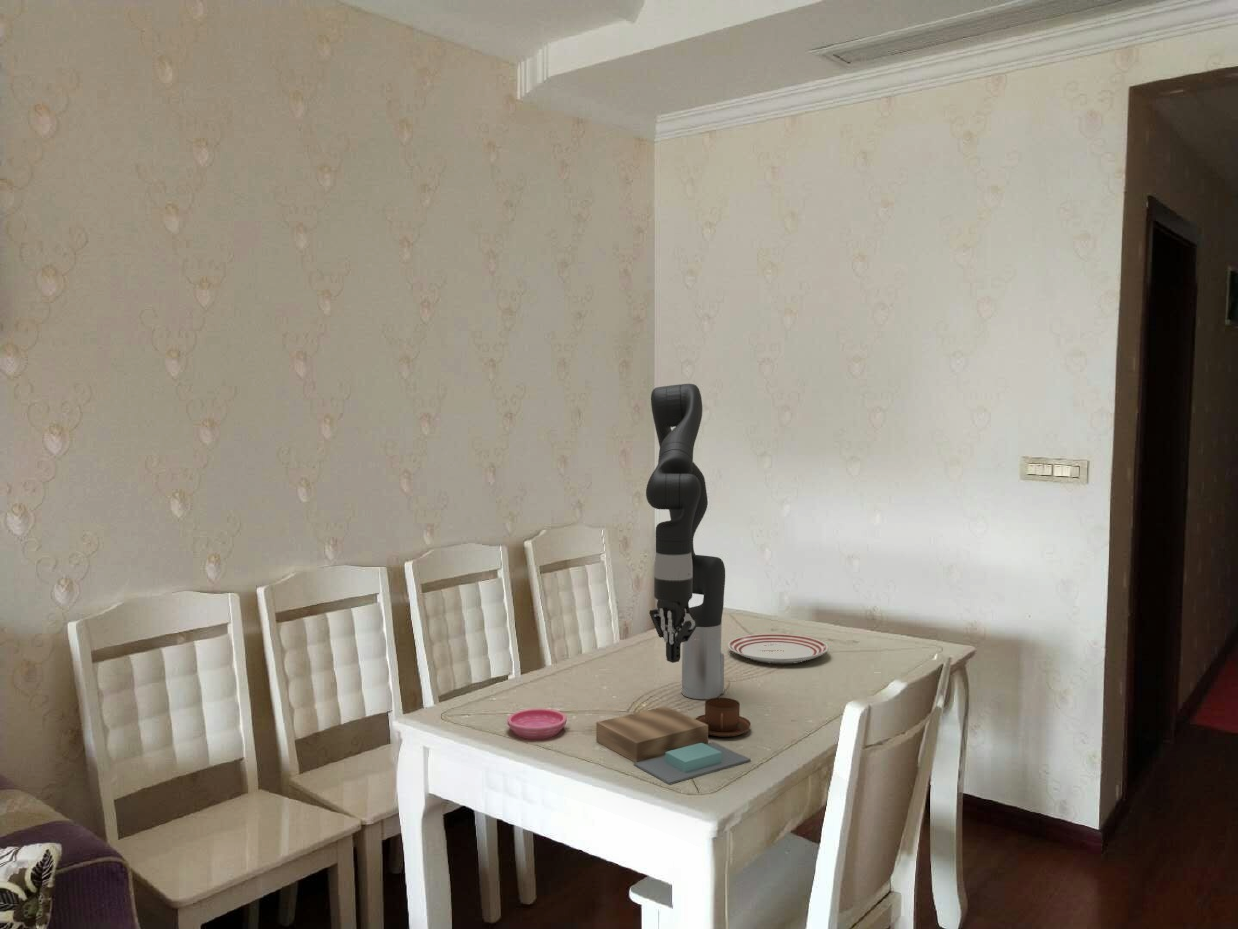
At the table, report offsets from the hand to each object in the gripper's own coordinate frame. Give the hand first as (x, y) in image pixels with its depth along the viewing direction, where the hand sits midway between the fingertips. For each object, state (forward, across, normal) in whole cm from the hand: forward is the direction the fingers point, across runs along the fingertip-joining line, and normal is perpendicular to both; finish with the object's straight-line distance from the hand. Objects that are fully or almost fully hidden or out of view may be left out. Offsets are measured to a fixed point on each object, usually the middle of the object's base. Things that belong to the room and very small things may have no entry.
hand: (673, 661), depth 185 cm
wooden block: (+18, +6, +1) cm, 19 cm away
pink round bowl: (+19, +25, +16) cm, 35 cm away
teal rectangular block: (+16, -7, +1) cm, 18 cm away
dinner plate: (+20, +39, -69) cm, 82 cm away
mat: (+18, -7, +1) cm, 20 cm away
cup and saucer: (+19, +3, -16) cm, 25 cm away
